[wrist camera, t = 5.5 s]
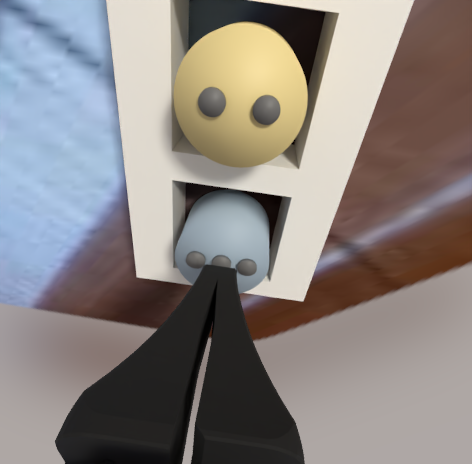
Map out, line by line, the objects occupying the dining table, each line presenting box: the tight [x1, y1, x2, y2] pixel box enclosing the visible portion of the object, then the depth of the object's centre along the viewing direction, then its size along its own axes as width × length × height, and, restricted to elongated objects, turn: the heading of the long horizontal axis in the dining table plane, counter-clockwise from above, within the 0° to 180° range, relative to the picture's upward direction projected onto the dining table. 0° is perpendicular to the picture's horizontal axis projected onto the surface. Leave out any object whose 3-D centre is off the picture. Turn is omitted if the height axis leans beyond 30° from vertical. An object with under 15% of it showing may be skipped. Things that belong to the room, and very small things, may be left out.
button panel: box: [106, 0, 414, 301], centre depth 13 cm, size 22×10×3 cm, turn 173°
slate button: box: [175, 190, 269, 294], centre depth 15 cm, size 4×4×3 cm
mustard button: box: [174, 21, 308, 168], centre depth 11 cm, size 4×4×3 cm
